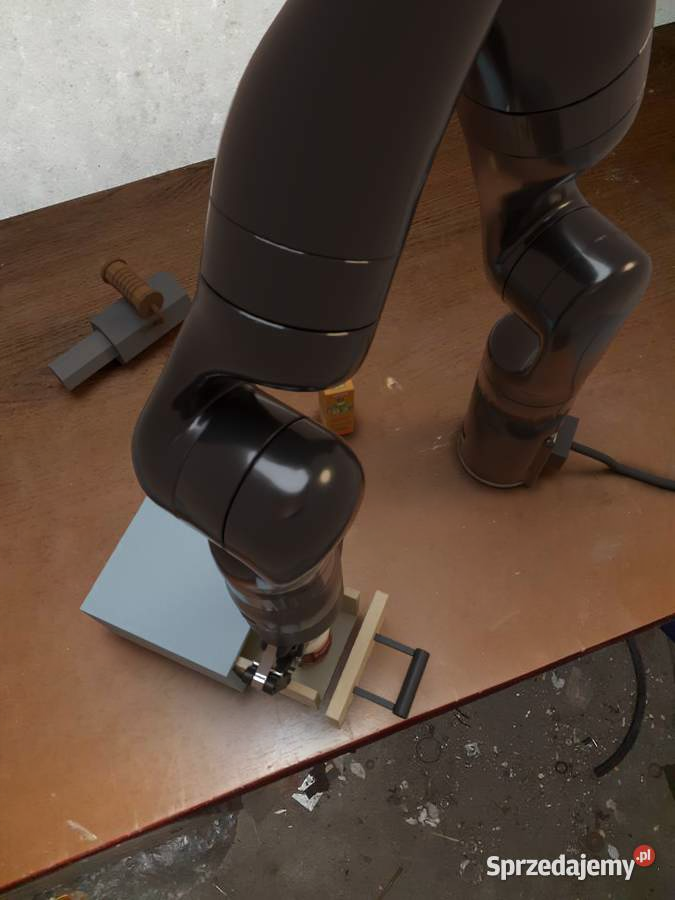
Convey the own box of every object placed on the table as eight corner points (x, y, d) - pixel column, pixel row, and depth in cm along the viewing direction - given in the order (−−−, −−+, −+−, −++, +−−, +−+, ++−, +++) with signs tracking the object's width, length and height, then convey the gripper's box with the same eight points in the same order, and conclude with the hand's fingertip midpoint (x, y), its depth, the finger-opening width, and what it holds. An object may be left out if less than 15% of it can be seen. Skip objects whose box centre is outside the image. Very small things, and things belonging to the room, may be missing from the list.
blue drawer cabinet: (298, 574, 71) (290, 544, 63) (243, 693, 66) (226, 677, 58) (175, 523, 74) (151, 487, 66) (113, 632, 69) (78, 609, 61)
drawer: (435, 636, 67) (444, 617, 60) (393, 753, 63) (397, 748, 56) (263, 564, 71) (253, 538, 64) (211, 670, 66) (193, 654, 59)
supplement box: (327, 441, 78) (323, 395, 69) (319, 416, 80) (314, 368, 71) (355, 434, 78) (354, 387, 70) (347, 409, 80) (345, 360, 71)
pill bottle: (326, 670, 64) (322, 654, 56) (276, 660, 64) (265, 642, 57) (337, 620, 66) (333, 597, 58) (288, 610, 66) (278, 587, 59)
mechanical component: (45, 367, 84) (7, 316, 75) (159, 286, 89) (136, 229, 80) (93, 418, 80) (59, 370, 71) (208, 330, 86) (190, 275, 77)
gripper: (291, 703, 42) (310, 728, 58) (378, 503, 48) (374, 573, 63) (184, 654, 44) (230, 691, 59) (280, 466, 50) (300, 543, 65)
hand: (305, 630), depth 61 cm, fingers closed on pill bottle, 4 cm apart
